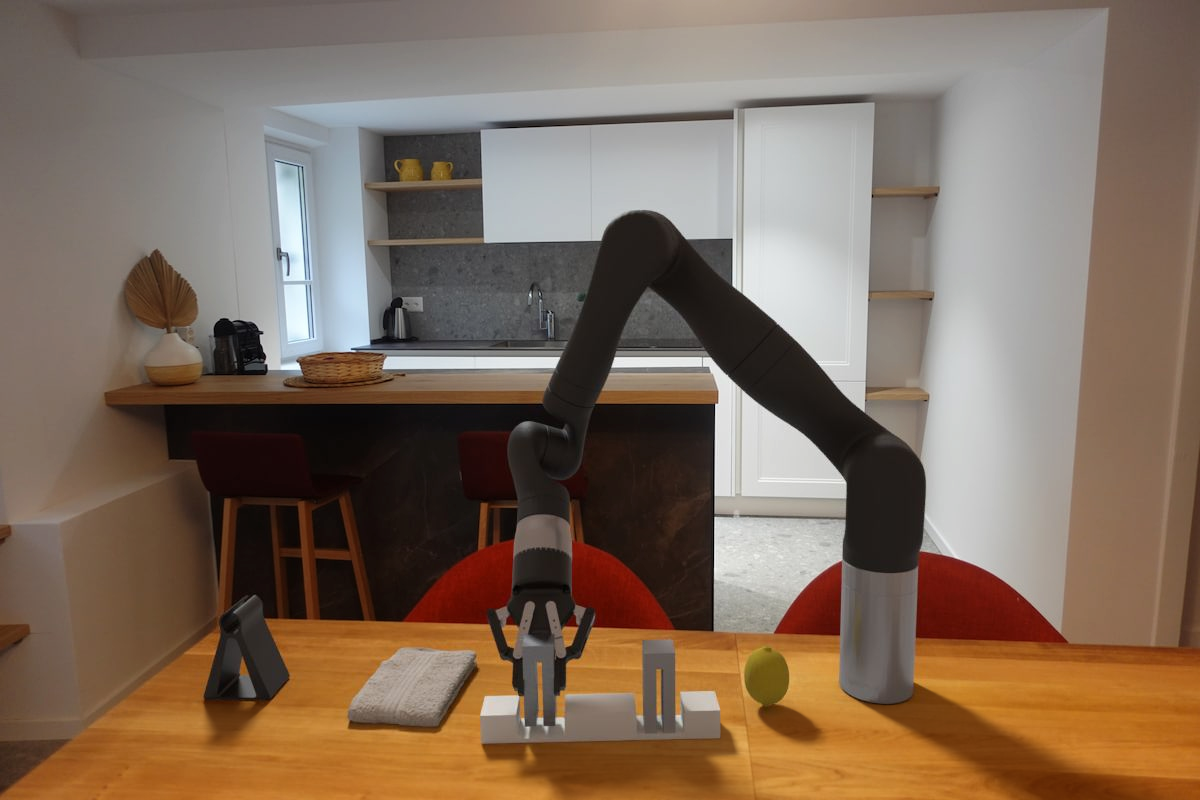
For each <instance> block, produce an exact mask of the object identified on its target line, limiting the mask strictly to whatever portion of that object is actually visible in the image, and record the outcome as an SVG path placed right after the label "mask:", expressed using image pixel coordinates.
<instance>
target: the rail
mask: <svg viewBox="0 0 1200 800" xmlns="http://www.w3.org/2000/svg"><path fill="white" fill-rule="evenodd" d="M641 643H642V644H641V649H642V650H641V651H642V652H641V653H642V654H641V655H642V660H641V661H642V665H641V666H642V667H641V668H642V715H637V705H636V695H635V692H613V693H612V692H611V693H571V694H570V693H567V694H566V693H565V697H564V713H563V715H564V717H560V716H559V717H558V716H556V725H555V726H543V717H538V720H537V726H533V727H525V719H524V717H523V718H522V717H521V700H520V697H521V696H520V697H519V696H518V694H517V695H516V694H515V695H514V694H513V695H484V699H483V703H482V706H481V711H480V715H479V721H480V722H479V723H480V744H483V745H485V744H488V745H489V744H521V743H523V744H524V743H525V744H526V743H527V744H528V743H562V742H563V743H565V742H566V743H567V742H568V743H569V742H570V743H572V742H607V741H608V742H610V741H611V742H614V741H617V742H618V741H653V740H654V741H658V740H660V741H662V740H693V739H694V740H698V739H700V740H703V739H721V708H720V705H719V701H718V698H717V695H716V691H715V690H707V691H706V690H703V691H700V690H699V691H697V690H695V691H694V690H693V691H679V701H680V702H679V706H680V707H679V710H680V711H679V712H680V713H679V714H676V650H675V647H674V642H673V639H669V638H668V639H641ZM657 670H660V714H657V711H658V710H657V709H658V707H657V705H658V704H657V700H658V699H657V698H658V697H657V692H658V691H657V686H658V685H657Z"/></svg>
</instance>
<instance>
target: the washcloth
mask: <svg viewBox="0 0 1200 800" xmlns="http://www.w3.org/2000/svg"><path fill="white" fill-rule="evenodd" d="M476 658H477V653H476V651H474V650H470V649H465V650H464V649H461V650H439V649H435V648H427V647H408V646H406V647H402V648H398V650H397V651H396V652H395V653H394V654H393V655H392V656H390V658H389V659H386V660H385V659H384V660H383V661H382V662H381V663H380V666H379V667H378V668H377V669H376V670H375V672H374V673H373V674H372V675H371V676H370V677H369V678H368V679H367V681H366V682H365V684H364V686H363V687H362V688H361V689H360V690H359V691H358V693H356V695H355V696H354V697H353V698H352V699H351V702H350V705H349V708H348V709H347V717H346V718H347V720H348V721H352V722H353V723H356V724H357V723H360V724H361V723H363V724H372V725H374V724H391V725H398V726H409V727H413V726H414V727H420V728H421V727H425V728H433V727H437V726H439V725H440V723H441V721H442V720H443V718H444V717H445V715H446V714H447V712H448V710H449V707H450V706H451V704H453V702H454V701H455V698H456V697H458V693H459V692H460V691H461V688H462V687H463V685H465V682H464V681H466V680H467V679H468V677H469V676H470V675H471V673H472V672H473V670H475V668H476V666H477V663H478V662H477V660H476ZM469 674H470V675H469Z"/></svg>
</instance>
